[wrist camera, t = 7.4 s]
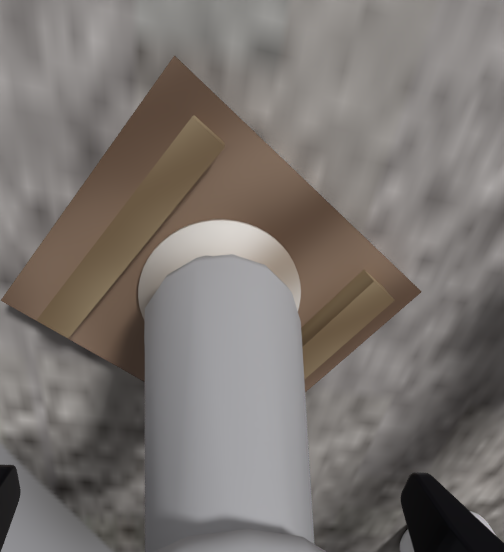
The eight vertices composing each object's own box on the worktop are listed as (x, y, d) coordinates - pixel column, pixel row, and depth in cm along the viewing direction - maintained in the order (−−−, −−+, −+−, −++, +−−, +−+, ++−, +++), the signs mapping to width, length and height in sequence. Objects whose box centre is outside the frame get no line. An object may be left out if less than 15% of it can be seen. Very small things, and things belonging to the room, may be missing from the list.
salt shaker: (240, 370, 18) (282, 881, 6) (130, 317, 16) (-96, 891, 5) (315, 278, 16) (571, 758, 4) (200, 206, 14) (123, 692, 3)
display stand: (406, 277, 19) (435, 304, 16) (247, 419, 22) (250, 460, 19) (178, 59, 14) (170, 51, 11) (17, 284, 17) (-16, 315, 15)
